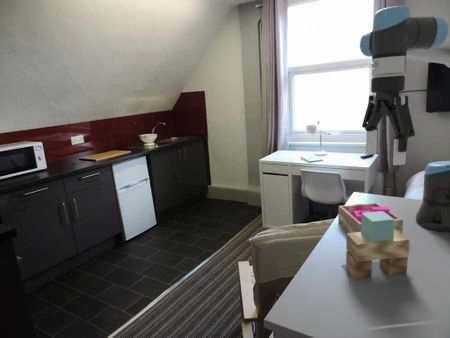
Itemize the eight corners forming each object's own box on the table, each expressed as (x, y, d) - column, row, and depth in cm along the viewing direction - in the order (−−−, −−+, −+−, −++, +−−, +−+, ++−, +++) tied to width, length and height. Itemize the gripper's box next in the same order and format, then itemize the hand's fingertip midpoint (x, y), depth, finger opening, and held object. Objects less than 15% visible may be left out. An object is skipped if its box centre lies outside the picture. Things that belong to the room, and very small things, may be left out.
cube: (381, 230, 92) (382, 210, 90) (393, 240, 86) (394, 219, 84) (360, 232, 91) (361, 212, 90) (371, 242, 86) (372, 221, 84)
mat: (392, 260, 97) (392, 259, 96) (413, 280, 87) (414, 278, 87) (340, 266, 96) (340, 265, 96) (356, 286, 86) (356, 285, 86)
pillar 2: (396, 264, 94) (397, 245, 93) (406, 273, 89) (408, 254, 88) (379, 266, 94) (380, 247, 92) (389, 275, 89) (390, 256, 87)
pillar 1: (362, 267, 94) (363, 249, 92) (371, 277, 89) (372, 258, 87) (345, 269, 93) (346, 250, 92) (353, 279, 89) (354, 259, 87)
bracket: (387, 237, 110) (389, 209, 108) (356, 236, 112) (356, 209, 110) (378, 223, 122) (380, 197, 119) (350, 222, 124) (350, 197, 121)
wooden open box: (375, 219, 126) (376, 202, 124) (401, 238, 109) (403, 219, 107) (338, 222, 125) (338, 205, 123) (358, 243, 108) (359, 223, 107)
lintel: (393, 244, 93) (394, 228, 92) (408, 256, 87) (409, 239, 85) (346, 249, 93) (346, 233, 92) (357, 261, 86) (357, 244, 85)
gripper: (351, 78, 92) (349, 151, 97) (403, 74, 68) (397, 171, 73) (376, 76, 92) (373, 148, 98) (437, 72, 68) (429, 168, 73)
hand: (383, 158), depth 85 cm, fingers open, 13 cm apart
